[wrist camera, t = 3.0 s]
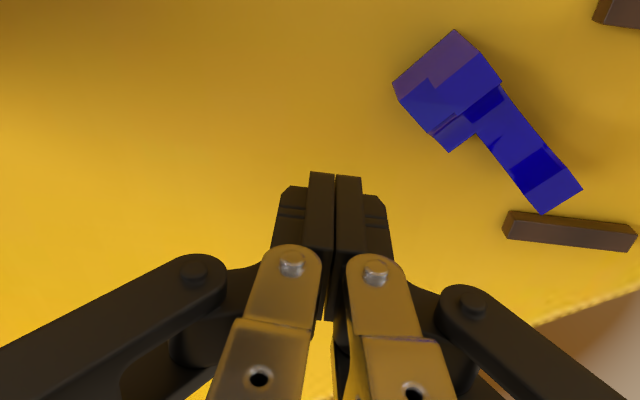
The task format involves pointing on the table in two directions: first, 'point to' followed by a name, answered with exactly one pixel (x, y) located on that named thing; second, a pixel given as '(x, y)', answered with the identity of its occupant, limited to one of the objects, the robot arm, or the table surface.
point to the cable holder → (481, 118)
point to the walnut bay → (616, 10)
